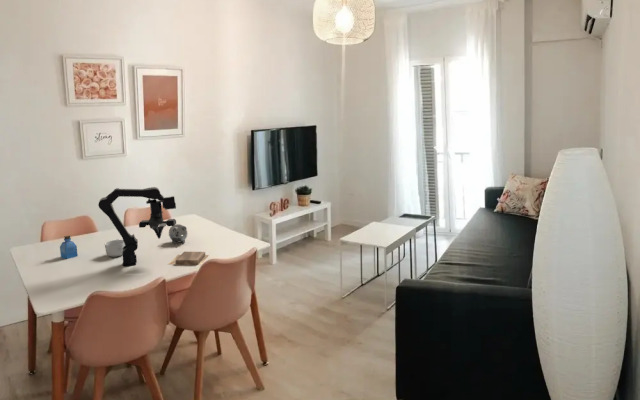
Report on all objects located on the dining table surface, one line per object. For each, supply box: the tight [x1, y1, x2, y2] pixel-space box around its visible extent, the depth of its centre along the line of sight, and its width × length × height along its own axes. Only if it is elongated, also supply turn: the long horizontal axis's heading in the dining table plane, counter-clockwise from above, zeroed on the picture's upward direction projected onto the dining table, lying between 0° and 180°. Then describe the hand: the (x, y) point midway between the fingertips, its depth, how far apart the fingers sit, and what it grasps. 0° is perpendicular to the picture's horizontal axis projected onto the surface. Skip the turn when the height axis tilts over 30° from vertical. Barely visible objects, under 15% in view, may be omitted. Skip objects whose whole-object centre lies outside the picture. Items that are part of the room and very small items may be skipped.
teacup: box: [104, 238, 125, 258], centre depth 280 cm, size 14×11×8 cm
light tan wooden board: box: [168, 254, 210, 266], centre depth 271 cm, size 18×17×1 cm
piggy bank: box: [168, 223, 188, 245], centre depth 303 cm, size 11×15×12 cm
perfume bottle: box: [59, 235, 79, 260], centre depth 275 cm, size 6×6×12 cm
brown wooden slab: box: [176, 251, 206, 266], centre depth 269 cm, size 2×15×12 cm
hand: (159, 238), depth 267 cm, fingers closed
